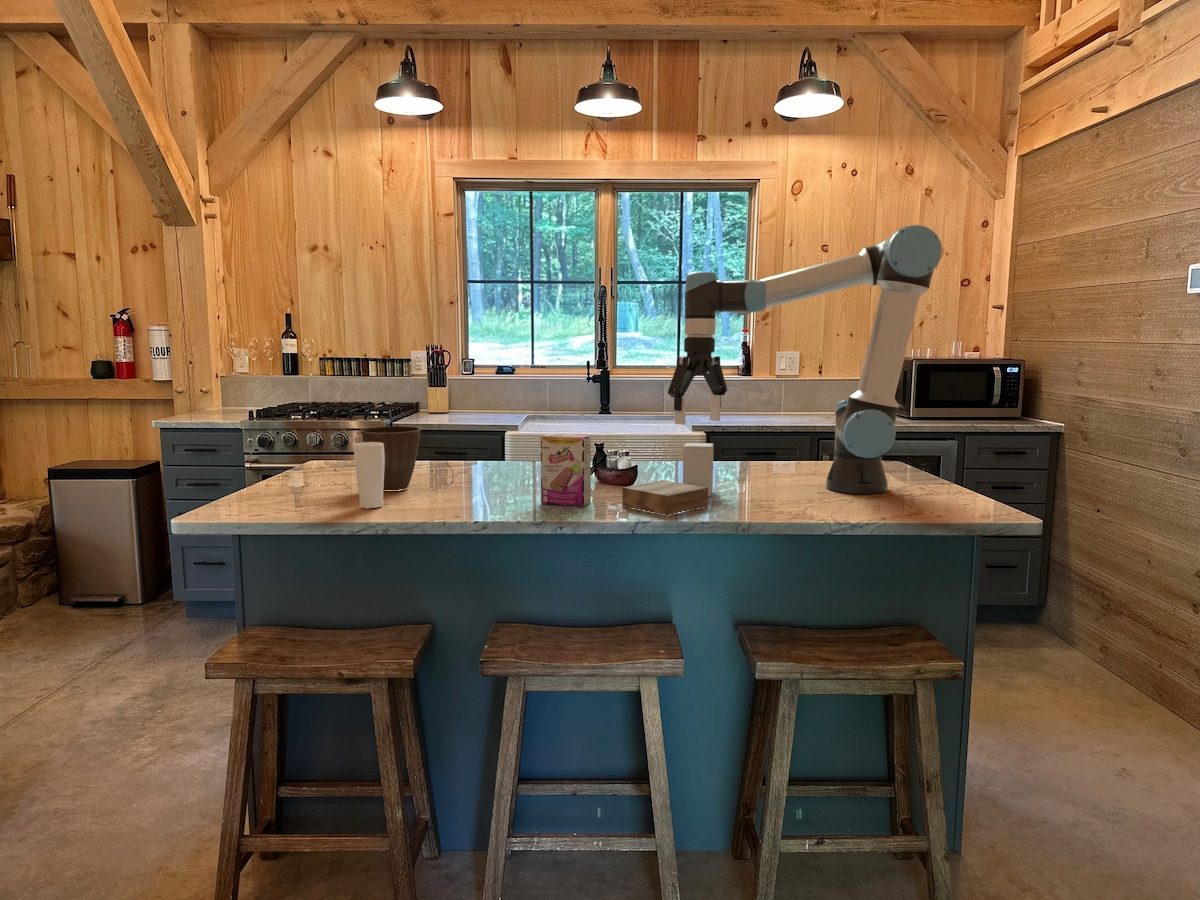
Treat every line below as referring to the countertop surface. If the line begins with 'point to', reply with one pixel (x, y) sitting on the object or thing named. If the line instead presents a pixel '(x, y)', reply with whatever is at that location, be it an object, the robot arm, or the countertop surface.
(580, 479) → the candy bar box
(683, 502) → the walnut base block
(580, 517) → the countertop surface
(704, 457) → the supplement box
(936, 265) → the robot arm
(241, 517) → the countertop surface
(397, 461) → the plant pot
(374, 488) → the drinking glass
